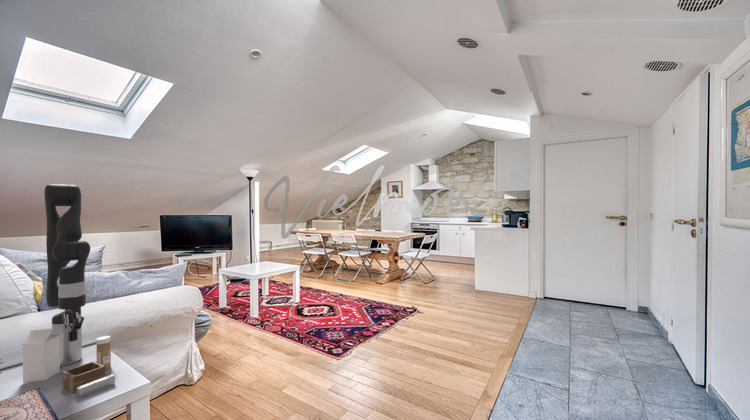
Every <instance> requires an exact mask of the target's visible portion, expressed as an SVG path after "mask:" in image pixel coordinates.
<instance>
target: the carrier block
mask: <svg viewBox="0 0 750 420" xmlns="http://www.w3.org/2000/svg"><path fill="white" fill-rule="evenodd" d="M104 377H106V370H105V366H103V365H101V364H99V363H97V361H95V360H94V361H90V362H87V363H84V364H80V365H78V366H74V367H72V368H69V369H66V370H63V371H62V388H64V389H66V390H67V391H69V392H71V393H72V394H77V387H80V386H82V385H85V384H88V383H90V382H93V381H96V380H98V379H101V378H104Z"/></svg>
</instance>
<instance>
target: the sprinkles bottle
mask: <svg viewBox="0 0 750 420" xmlns="http://www.w3.org/2000/svg"><path fill="white" fill-rule="evenodd" d="M111 337H112V336H110V335H103V336H99V337H97V338H96V339H95V345H96V353H95V354H96V362H97V363H99V364H101V365H103V366H105V371H108V370H109V369H110V368H111V366H112V365H111V364H112V363H111V361H112V357H111V356H112V353H111V340H112V338H111Z"/></svg>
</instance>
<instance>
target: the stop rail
mask: <svg viewBox="0 0 750 420" xmlns="http://www.w3.org/2000/svg"><path fill="white" fill-rule="evenodd" d="M115 379H116V376H115V375H114V374H109V375H107V376H106V375H105V377H104V378H101V379H98V380H96V381H93V382H90V383H88V384H85V385H82V386H80V387H77V392H76V398H78V399H79V400H81V399H82V398H85V397H88V396H91V395H93V394H95V393H98V392H99V391H100V392H101V391H102V390H104V389H105V390H106V389H107V388H110V387H112V386H115V385H116V381H115Z"/></svg>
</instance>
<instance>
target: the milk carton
mask: <svg viewBox="0 0 750 420" xmlns="http://www.w3.org/2000/svg"><path fill="white" fill-rule="evenodd" d="M29 332H30V333H29V334H28V335H27V337H26V339H25V340H24V342H23V343H22V384H23V385H26V384H29V383H32V382H39V381H46V380H48V379H50V378H51V377H53V376H54V375H57V374H59V373H61V370H60V369H61V367H60V353H59V335H57V334H56V333H54V332H52V328H41V329H40V328H39V329H31V330H30V331H29Z"/></svg>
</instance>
